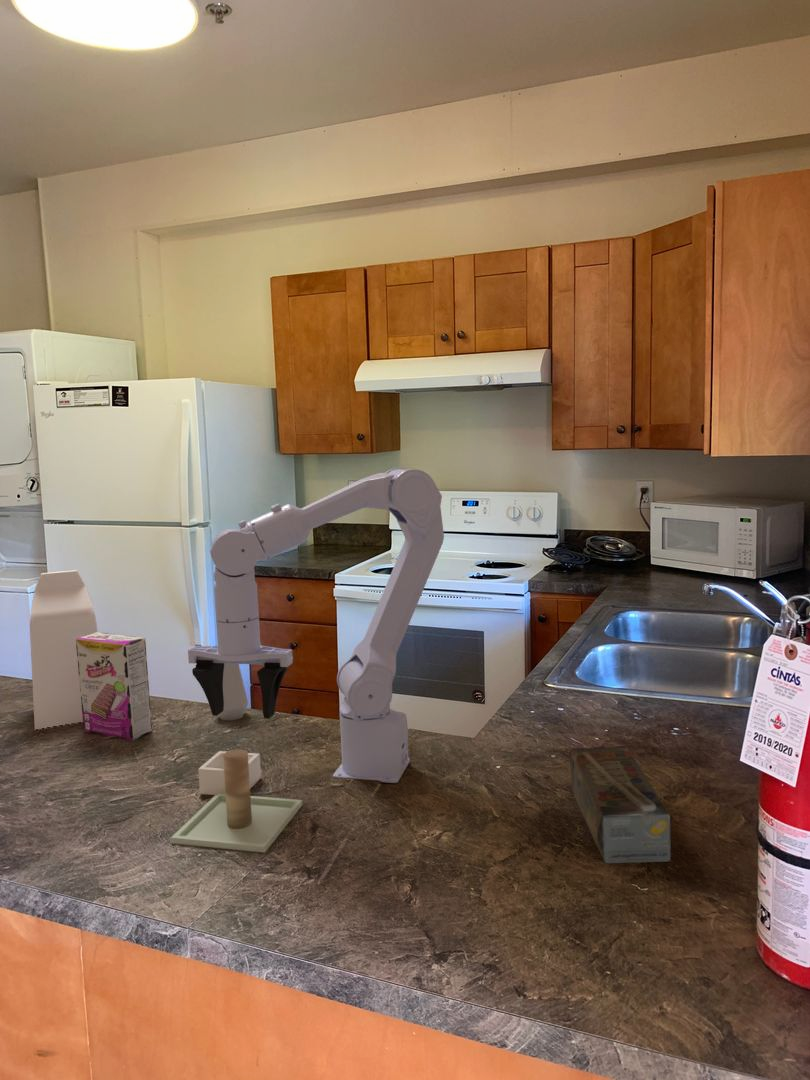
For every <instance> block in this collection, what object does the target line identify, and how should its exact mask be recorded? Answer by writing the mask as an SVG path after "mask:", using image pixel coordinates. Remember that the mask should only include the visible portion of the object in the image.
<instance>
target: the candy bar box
mask: <svg viewBox="0 0 810 1080" xmlns="http://www.w3.org/2000/svg"><path fill="white" fill-rule="evenodd" d="M76 649H77V660H78V671H79V681H80V693H81V704H82V715H83V722H82V725H83V732H85V733H91V734H96V735H102V736H107V737H112V738H116V739H123V740H124V739H125V740H128V741H135V740H137V739H138V738H137V737H139V736H141V737H142V735H143V736H145V735H147V734H149V733H151V732H152V731H153V723H152V722H153V721H152V711H151V710H152V709H151V699H150V685H149V684H150V683H149V674H148V673H149V671H148V660H147V659H148V658H147V657H148V656H147V643H146V637H141V636H132V635H124V634H123V635H122V634H115V633H107V632H96V633H92V634H88V635H85V636H81V637H79V638H77V639H76ZM146 733H147V734H146ZM144 734H145V735H144ZM136 738H137V739H136ZM139 738H140V737H139ZM134 739H135V740H134Z"/></svg>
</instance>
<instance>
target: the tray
mask: <svg viewBox="0 0 810 1080" xmlns="http://www.w3.org/2000/svg"><path fill="white" fill-rule="evenodd" d="M250 797H251V813H252V823H251V824H250V825H249V826H248V827H245V828H242V829H232V828H229V827H228V825H227V810H226V795H225V794H222V793H217V794H216V795H213V797H211V799H210V800H209V801H208V802H206V804H204V805H203V807H202V808H200V809H199V810H198V811H197V812H196V813H195V814H194V815H193V816H192V817H191V818H189V820H188V821H186V823H185V824H184V825H182V826H181V827H180V828H179V829H177V831H176V832H175V833H173V834H172V836H171V837H170V842H171V844H174V845H182V846H191V847H192V846H194V847H203V848H213V849H222V850H231V851H232V850H234V851H242V852H252V853H262V854H265V853H266V852H267V851H268V850H269V849H270V847H271V846H272V845H273V843H274V842H275V841H276V840H277V838H278V837H279V836H280V834H281V833H282V832H283V831H284V830H285V828H286V827H287V826H288V824H289V823H290V822H291V821H292V820H293V818H294V816H295V815H296V814H297V813H299V812H298V811H299V810H300V809H301V807H303V799H293V798H282V797H281V798H280V797H270V796H269V797H268V796H257V795H250Z"/></svg>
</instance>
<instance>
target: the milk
mask: <svg viewBox="0 0 810 1080" xmlns="http://www.w3.org/2000/svg"><path fill="white" fill-rule="evenodd" d="M30 607H31V609H30V615H29V637H30V638H29V640H30V657H31V660H30V661H31V679H32V680H31V681H32V698H33V699H32V700H33V716H34V717H33V718H34V720H33V721H34V731H36V729H38V730H43V729H42V728H44V729H48V728H47V727H50V728H54V727H53V726H57V727H60V726H59V725H63V726H66V725H65V724H69V725H72V724H71V723H75V724H78V723H77V722H81V723H83V715H82V704H81V693H80V681H79V671H78V660H77V649H76V639H77V638H79V637H81V636H85V635H88V634H92V633H96V632H98V625H97V619H96V615H95V610H94V606H93V603H92V599H91V596H90V594H89V592H88V589H87V587H86V584H85V582H84V581H83V579H82V576H81V575H80V573H79V572H78V570H77V569H74V570H73V569H72V570H61V571H54V572H53V571H52V572H51V571H49V572H42V573H40V576H39V578H38V580H37V583H36V585H35V588H34V591H33V597H32V602H31V606H30Z"/></svg>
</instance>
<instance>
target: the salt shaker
mask: <svg viewBox="0 0 810 1080" xmlns="http://www.w3.org/2000/svg"><path fill="white" fill-rule="evenodd" d="M244 684H245V683H244V680H243V675H242V673H241V668H240V664H232V663H225V664H224V672H223V698H224V710H223V712H221V713H220V714H219V715H218V716H219V717H220V719H221V720H222V721H235V720H239V719H242V718H243V716H244V713H245V711H246V709H247V708H248V697H247V693H246V689H245V685H244Z"/></svg>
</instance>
